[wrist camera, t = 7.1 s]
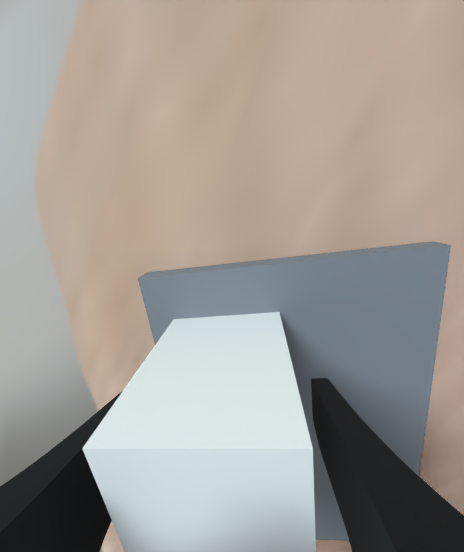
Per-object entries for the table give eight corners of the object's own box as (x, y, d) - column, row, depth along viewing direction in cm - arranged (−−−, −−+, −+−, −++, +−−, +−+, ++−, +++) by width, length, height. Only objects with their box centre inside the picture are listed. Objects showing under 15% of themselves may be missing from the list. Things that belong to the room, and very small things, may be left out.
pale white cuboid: (279, 312, 11) (312, 448, 5) (285, 400, 13) (316, 592, 6) (173, 319, 12) (82, 448, 6) (191, 402, 13) (135, 578, 7)
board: (432, 241, 11) (450, 245, 10) (400, 523, 16) (409, 543, 15) (146, 272, 12) (137, 278, 11) (207, 517, 18) (204, 534, 17)
